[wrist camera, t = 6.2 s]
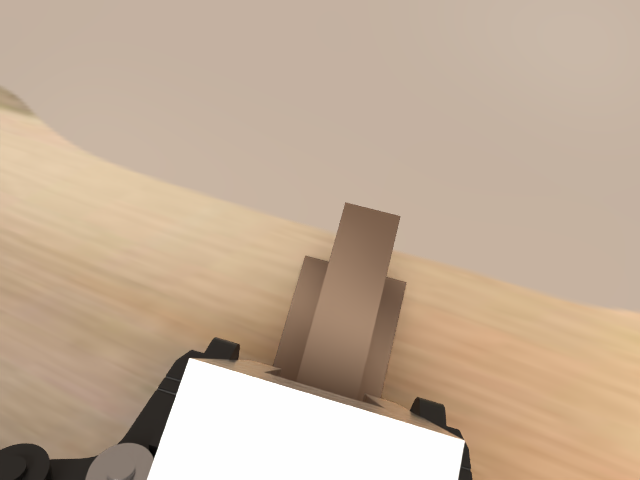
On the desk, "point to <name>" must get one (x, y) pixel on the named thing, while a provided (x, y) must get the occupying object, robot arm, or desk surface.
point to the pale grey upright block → (293, 431)
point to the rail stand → (345, 310)
